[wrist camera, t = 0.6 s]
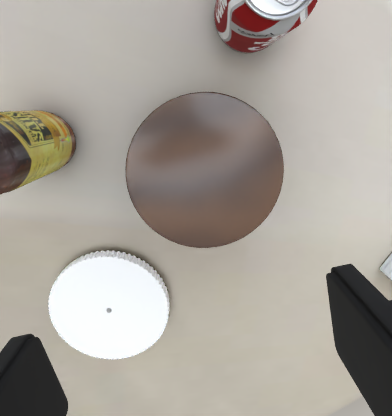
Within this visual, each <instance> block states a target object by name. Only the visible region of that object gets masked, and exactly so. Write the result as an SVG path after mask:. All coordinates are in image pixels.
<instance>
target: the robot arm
mask: <svg viewBox="0 0 392 416" xmlns="http://www.w3.org/2000/svg"><path fill="white" fill-rule="evenodd" d="M326 279H327V287H328V295H329V303H330V310H331V318H332V326H333V334H334V341H335V347H336V350H337V352H338V355H339V357H340V358H341V360H342V362H343V363H344V365H345V367H346V368H347V370H348V372H349V373H350V375H351V377H352V378H353V380H354V382H355V383H356V385H357V387H358V388H359V390H360V392H361V393H362V395H363V397H364V398H365V400H366V402H367V403H368V405H369V407H370V408H371V410H372V412H373V413H374V415H375V416H392V300H390V301H388V300H387V299H386V298H385V297H384V296H383V295H382V294H381V293H380V292H379V291H378V290H377V289H376V288H375V287H374V286H373V285H372V284H371V283H370V282H369V281H368V280H367V279H366V278H365V277H364V276H363V275H362V274H361V273H360V272H359V271H358V270H357V269H356V268H355V267H354V266H353V265H352V264H347V265H342V266H337V267H333V268H332V269H331V273H328V274H326ZM67 411H68V401H67V398H66V396H65V394H64V391H63V389H62V387H61V385H60V383H59V380H58V378H57V376H56V374H55V371H54V369H53V367H52V365H51V363H50V360H49V358H48V356H47V354H46V351H45V349H44V347H43V345H42V343H41V341H40V339H39V338H38V337H34V335H32V334H27V335H22V336H18V337H13V338H11V339H10V340H9V341H8V343H7V344H6V346H5V347H4V348H3V350H2V351H1V352H0V416H66V414H67Z"/></svg>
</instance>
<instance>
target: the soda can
mask: <svg viewBox="0 0 392 416" xmlns="http://www.w3.org/2000/svg"><path fill="white" fill-rule="evenodd" d="M316 3H317V0H217V1H216V5H215V11H214V18H215V25H216V28H217V31H218V33H219V35H220V37H221V38H222V40H223V41H224V42H225V43H226V44H227V45H228V46H229V47H231V48H232V49H234V50H236V51H239V52H244V53H253V52H257V51H260V50H262V49H264V48H266V47H268V46H269V45H271V44H272V43H274V42H275V41H277V40H278V39H279V38H281V37H282V36H284V35H285V34H287V33H288V32H290V31H291V30H293V29H294V28H296V27H297V26H299V25H300V24H301V23H302V22H303V21H304V20H305V19H306V18H307V17H308V16H309V14H310V13H311V12H312V10H313V8H314V7H315V5H316Z"/></svg>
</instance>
